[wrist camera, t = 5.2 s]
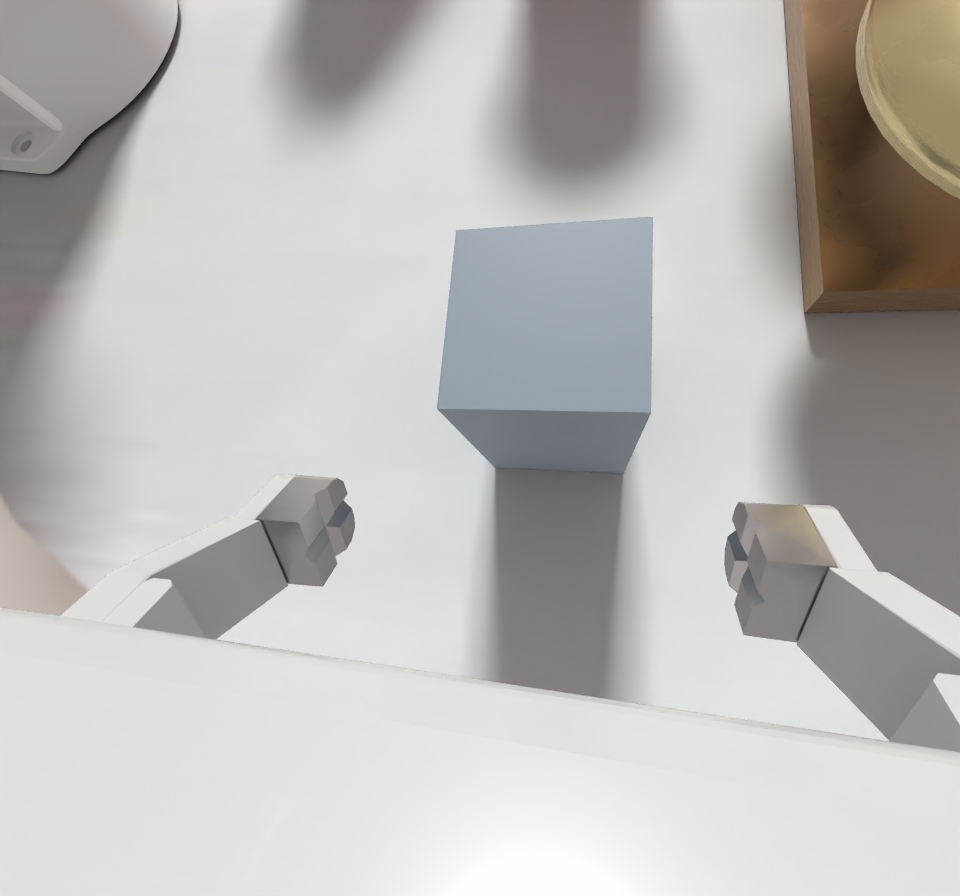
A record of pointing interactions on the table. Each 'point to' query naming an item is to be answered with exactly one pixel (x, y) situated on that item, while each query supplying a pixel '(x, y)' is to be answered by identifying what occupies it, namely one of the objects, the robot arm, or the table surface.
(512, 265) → the block
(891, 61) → the balance
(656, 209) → the table surface
